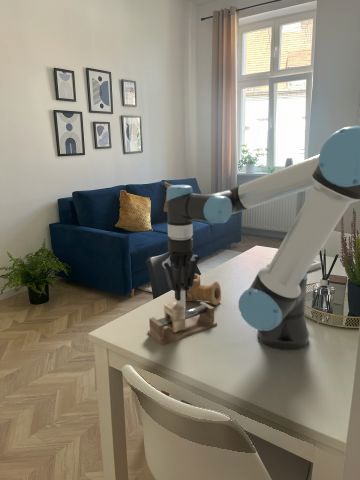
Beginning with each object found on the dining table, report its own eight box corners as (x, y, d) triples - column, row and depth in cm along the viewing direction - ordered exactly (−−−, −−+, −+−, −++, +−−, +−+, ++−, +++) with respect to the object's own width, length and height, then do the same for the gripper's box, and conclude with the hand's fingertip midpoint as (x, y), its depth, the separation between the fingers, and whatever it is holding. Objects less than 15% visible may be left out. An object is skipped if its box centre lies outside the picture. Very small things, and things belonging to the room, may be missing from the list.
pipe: (216, 309, 131) (216, 283, 128) (174, 304, 136) (173, 279, 133) (222, 299, 139) (222, 275, 136) (182, 294, 144) (181, 270, 142)
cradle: (200, 314, 127) (200, 300, 125) (217, 325, 120) (217, 309, 118) (147, 332, 116) (147, 316, 114) (162, 345, 108) (161, 328, 107)
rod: (202, 310, 123) (202, 303, 122) (207, 313, 120) (207, 306, 120) (156, 326, 113) (156, 318, 112) (160, 329, 111) (160, 321, 110)
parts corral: (320, 267, 172) (321, 262, 171) (298, 274, 163) (299, 269, 163) (293, 259, 184) (293, 254, 184) (272, 265, 176) (272, 260, 175)
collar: (175, 321, 119) (174, 301, 117) (185, 328, 114) (184, 307, 112) (164, 325, 117) (164, 304, 115) (174, 332, 112) (174, 311, 110)
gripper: (190, 231, 116) (191, 299, 122) (155, 237, 109) (157, 309, 115) (204, 236, 110) (204, 307, 116) (168, 243, 103) (170, 318, 109)
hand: (181, 308), depth 116 cm, fingers closed
